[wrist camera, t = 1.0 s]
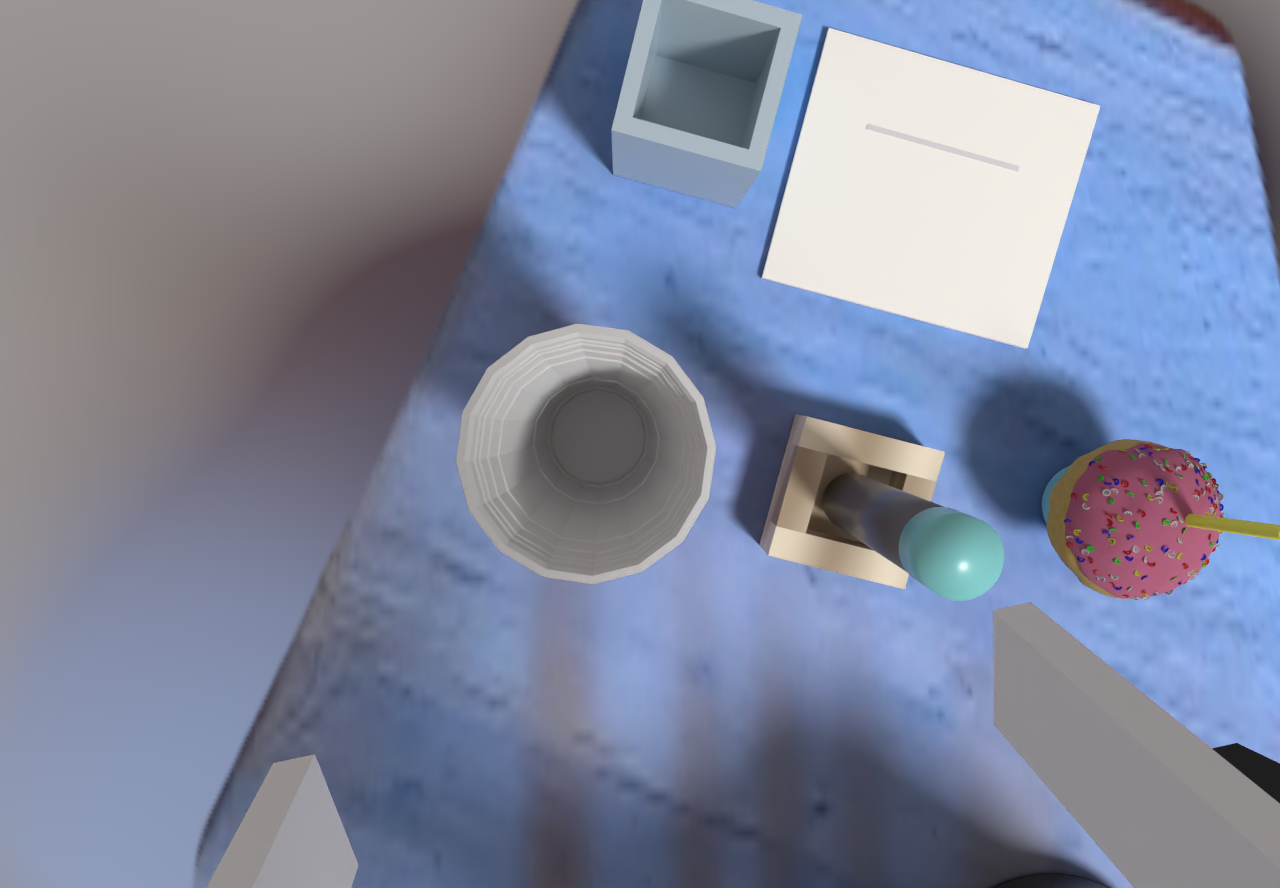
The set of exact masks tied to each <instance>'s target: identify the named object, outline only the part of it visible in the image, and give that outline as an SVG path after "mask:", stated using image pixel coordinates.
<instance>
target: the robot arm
mask: <svg viewBox="0 0 1280 888" xmlns="http://www.w3.org/2000/svg"><path fill="white" fill-rule="evenodd" d="M993 660H994V725H995V727H996V728H997V729H998V730H999V731H1000V732H1001V734H1002V735H1003V736H1004V737H1005V738H1006V739H1007V741H1008V742H1009V743H1010V744H1011V745H1012V746H1013V748H1014V749H1015V750H1016V751H1017V752H1018V753H1019V755H1020V756H1021V757H1022V758H1023V759H1024V760H1025V761H1026V763H1027V764H1028V765H1029V766H1030V767H1031V768H1032V770H1033V771H1034V772H1035V773H1036V774H1037V775H1038V777H1039V778H1040V779H1041V780H1042V781H1043V782H1044V784H1045V785H1046V786H1047V787H1048V788H1049V789H1050V791H1051V792H1052V793H1053V794H1054V795H1055V796H1056V798H1057V799H1058V800H1059V801H1060V802H1061V803H1062V804H1063V806H1064V807H1065V808H1066V809H1067V810H1068V811H1069V813H1070V814H1071V815H1072V816H1073V817H1074V818H1075V820H1076V821H1077V822H1078V823H1079V824H1080V825H1081V827H1082V828H1083V829H1084V830H1085V831H1086V832H1087V834H1088V835H1089V836H1090V837H1091V838H1092V839H1093V841H1094V842H1095V843H1096V844H1097V845H1098V846H1099V847H1100V849H1101V850H1102V851H1103V852H1104V853H1105V854H1106V856H1107V857H1108V858H1109V859H1110V860H1111V861H1112V863H1113V864H1114V865H1115V866H1116V867H1117V868H1118V870H1119V871H1120V872H1121V873H1122V874H1123V875H1124V877H1125V878H1126V879H1127V880H1128V881H1129V882H1130V883H1131V885H1132V886H1133V887H1134V888H1280V764H1279V763H1277V762H1275V761H1273V760H1271V759H1269V758H1267V757H1265V756H1263V755H1261V754H1259V753H1257V752H1254V751H1252V750H1250V749H1248V748H1246V747H1244V746H1242V745H1240V744H1238V743H1235V744H1230V745H1226V746H1222V747H1217V748H1213V749H1212V748H1210V747H1209V746H1208V745H1207V744H1205V743H1204V742H1203V741H1202V740H1200V739H1199V738H1198V737H1197V736H1195V735H1194V734H1193V733H1192V732H1191V731H1189V730H1188V729H1187V728H1186V727H1184V726H1183V725H1182V724H1181V723H1179V722H1178V721H1177V720H1176V719H1174V718H1173V717H1172V716H1171V715H1170V714H1168V713H1167V712H1166V711H1165V710H1163V709H1162V708H1161V707H1160V706H1158V705H1157V704H1156V703H1155V702H1153V701H1152V700H1151V699H1150V698H1148V697H1147V696H1146V695H1145V694H1144V693H1142V692H1141V691H1140V690H1139V689H1137V688H1136V687H1135V686H1134V685H1132V684H1131V683H1130V682H1129V681H1127V680H1126V679H1125V678H1124V677H1123V676H1121V675H1120V674H1119V673H1118V672H1116V671H1115V670H1114V669H1113V668H1111V667H1110V666H1109V665H1108V664H1106V663H1105V662H1104V661H1103V660H1101V659H1100V658H1099V657H1098V656H1097V655H1095V654H1094V653H1093V652H1092V651H1090V650H1089V649H1088V648H1087V647H1085V646H1084V645H1083V644H1082V643H1080V642H1079V641H1078V640H1077V639H1076V638H1074V637H1073V636H1072V635H1071V634H1069V633H1068V632H1067V631H1066V630H1064V629H1063V628H1062V627H1061V626H1059V625H1058V624H1057V623H1056V622H1054V621H1053V620H1052V619H1051V618H1050V617H1048V616H1047V615H1046V614H1045V613H1043V612H1042V611H1041V610H1040V609H1038V608H1037V607H1036V606H1035V605H1033V604H1032V603H1031V602H1029V603H1025V604H1020V605H1015V606H1010V607H1006V608H1001V609H996V610H993ZM358 866H359V865H358V862H357V860H356V857H355V855H354V852H353V850H352V847H351V845H350V842H349V840H348V837H347V834H346V832H345V829H344V827H343V824H342V822H341V819H340V817H339V814H338V812H337V809H336V807H335V804H334V801H333V799H332V796H331V794H330V791H329V789H328V786H327V784H326V781H325V779H324V776H323V774H322V771H321V769H320V766H319V763H318V761H317V758H316V756H315V754H313V755H309V756H304V757H299V758H294V759H290V760H285V761H280V762H276V763H273V764H272V766H271V768H270V770H269V772H268V774H267V776H266V777H265V779H264V781H263V783H262V785H261V787H260V789H259V790H258V792H257V794H256V796H255V798H254V800H253V802H252V803H251V805H250V807H249V809H248V811H247V813H246V815H245V816H244V818H243V820H242V822H241V824H240V826H239V828H238V829H237V831H236V833H235V835H234V837H233V839H232V841H231V842H230V844H229V846H228V848H227V850H226V852H225V853H224V855H223V857H222V859H221V861H220V863H219V865H218V866H217V868H216V870H215V872H214V874H213V876H212V878H211V879H210V881H209V883H208V885H207V887H206V888H352V884H353V881H354V878H355V875H356V872H357V869H358ZM995 888H1107V887H1105V886H1103V885H1101V884H1098V883H1096V882H1093V881H1091V880H1088V879H1084V878H1081V877H1076V876H1071V875H1062V874H1042V875H1034V876H1028V877H1023V878H1019V879H1016V880H1012V881H1009V882H1007V883H1004V884H1002V885H999V886H997V887H995Z"/></svg>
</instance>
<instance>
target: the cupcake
mask: <svg viewBox="0 0 1280 888" xmlns="http://www.w3.org/2000/svg"><path fill="white" fill-rule="evenodd" d="M1191 455H1192V453H1190V452H1187V451H1184V450H1182V449H1172V448H1168V447H1165V446H1162V445H1159V444H1156V443H1152V442H1146V441H1139V440H1129V439H1124V440H1117V441H1113V442H1110V443H1108V444H1106V445H1103V446H1101V447H1099V448H1097V449H1095V450H1093V451H1092V452H1090V453H1087V454H1085V455H1082V456H1080V457H1078V458H1077V459H1076V460H1075V461H1074V462H1073V463H1072V464H1071V465H1070V466H1067V467H1065V468H1063V469H1062V470H1060V471H1059V472H1057V473H1056V474H1055V475H1054V476H1053V477H1052V478H1051V480H1050V481H1049V482H1048V484H1047V486H1046V488H1045V490H1044V493H1043V497H1042V513H1043V517H1044V520H1045V522H1046V524H1047V533H1048V536H1049V539H1050V542H1051V544H1052V546H1053V548H1054V549H1055V551H1056V552H1057V554H1058V555H1059V557H1060V559H1061V560H1062V561H1063V562H1064V564H1065V565H1066V566H1067V567H1068V568H1069V569H1070V570H1071V571H1072V572H1073V573H1074V574H1075V575H1076V576H1077V577H1078V579H1079V581H1080V582H1081V583H1082V584H1084V585H1085V586H1087V587H1089V588H1091V589H1093V590H1095V591H1097V592H1099V593H1101V594H1104V595H1106V596H1110V597H1113V598H1121V599H1125V598H1132V599H1134V600H1138V599H1139V598H1142V599H1143V600H1146V599H1148V598H1149V597H1150V596H1155V595H1159V594H1163V593H1165V592H1166V594H1168V595H1170V594H1172V593H1173V589H1175V588H1177V587H1178V586H1180V585H1182V584H1184V583H1187V582H1186V581H1188V580H1193V579H1195V577H1196V576H1195V575H1197V574H1199V571H1200V570H1201V568H1202V567H1206V565H1207V564H1208V563H1209V560H1210V559H1208V557H1209V556H1210V554H1211V552H1214V551H1215V549H1216V547H1217V546H1219V543H1218V539H1219V538H1218V537H1219V534H1221V533H1222V532H1229V533H1235V534H1242V535H1249V536H1256V537H1262V538H1269V539H1276V540H1280V525H1275V524H1267V523H1259V522H1251V521H1243V520H1236V519H1228V518H1224V517H1223V516H1222V515H1223V514H1224V511H1223V505H1222V504H1221V503H1220V500H1223V499H1224V495H1223V494H1221V493H1219V491H1218V489H1219V485H1218V484H1216V479H1214V478H1213V479H1211V478H1212V477H1213V476H1212V474H1211V473H1209V472H1206V470H1205V468H1208V465H1207V464H1205V463H1199V461H1200V459H1198V458H1193V457H1192V456H1191ZM1197 460H1198V461H1197ZM1204 465H1206V466H1204ZM1209 474H1210V475H1211V476H1210V475H1209ZM1213 480H1214V481H1213ZM1215 485H1216V486H1217V487H1215ZM1216 488H1217V489H1216ZM1219 495H1221V496H1219ZM1220 497H1222V498H1220ZM1221 513H1222V514H1221ZM1219 531H1220V532H1219ZM1192 577H1193V578H1192ZM1170 590H1171V591H1170ZM1168 591H1169V592H1171V593H1169V592H1168ZM1144 597H1145V598H1144ZM1146 597H1147V598H1146Z"/></svg>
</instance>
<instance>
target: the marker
mask: <svg viewBox="0 0 1280 888" xmlns="http://www.w3.org/2000/svg"><path fill="white" fill-rule="evenodd" d="M823 509H824V512H825V514H826V516H827V517H828V518H829V520H830V521H831V522H833V523H834V524H835V525H837V526H838V527H840V528H841V529H843V530H844V531H846V532H847V533H849V534H850V535H852V536H853V537H855V538H856V539H858V540H859V541H861V542H862V543H864V544H865V545H867V546H868V547H870V548H871V549H873V550H874V551H876V552H877V553H879V554H880V555H882V556H883V557H885V558H886V559H888V560H889V561H891V562H892V563H894V564H895V565H897V566H898V567H900V568H901V569H903V570H904V571H906V572H907V573H908V574H909V575H910V576H912V577H913V578H914V579H916V580H917V581H919V582H920V583H922V584H923V585H924V586H926V587H927V588H929V589H930V590H932V591H933V592H935V593H936V594H938V595H939V596H942V597H944V598H946V599H950V600H955V601H964V600H970V599H973V598H976V597H978V596H980V595H982V594H984V593H985V592H987V591H988V590H989V589H990V588H991V587H992V586H993V585H994V584H995V582H996V581H997V580H998V578H999V576H1000V574H1001V571H1002V569H1003V565H1004V549H1003V545H1002V542H1001V539H1000V537H999V536H998V534H997V532H996V531H995V530H994V529H993V528H992V527H991V526H990V525H989V524H987V523H986V522H984V521H982V520H980V519H977V518H975V517H972V516H970V515H967V514H964V513H962V512H959V511H957V510H954V509H951V508H946V507H943V506H940V505H938V504H935V503H933V502H930V501H927V500H925V499H922V498H920V497H917V496H915V495H912V494H909V493H907V492H904V491H902V490H899V489H897V488H894V487H891V486H889V485H886V484H884V483H881V482H879V481H876V480H873V479H871V478H868V477H866V476H863V475H860V474H857V473H846V474H842V475H840V476H838V477H836V478H835V479H833V480H832V481H831V482H830V483H829V484H828V486H827V487H826V489H825V492H824V495H823Z"/></svg>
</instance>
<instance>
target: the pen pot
mask: <svg viewBox="0 0 1280 888" xmlns="http://www.w3.org/2000/svg"><path fill="white" fill-rule="evenodd" d="M801 18H802V15H801V14H798V13H794V12H791V11H788V10H784V9H781V8H777V7H774V6H770V5H767V4H763V3H760V2H756V1H753V0H643V3H642V7H641V11H640V15H639V20H638V24H637V28H636V32H635V36H634V40H633V44H632V48H631V52H630V56H629V60H628V64H627V68H626V72H625V77H624V81H623V85H622V89H621V93H620V97H619V101H618V105H617V109H616V113H615V117H614V121H613V125H612V129H611V133H612V159H613V175H616V176H620V177H623V178H627V179H631V180H634V181H638V182H642V183H645V184H649V185H653V186H656V187H660V188H664V189H667V190H671V191H675V192H678V193H682V194H686V195H689V196H693V197H697V198H700V199H704V200H708V201H711V202H715V203H719V204H722V205H726V206H730V207H733V208H737V207H738V205H739V204H740V202H741V201H742V199H743V198H744V196H745V195H746V193H747V192H748V190H749V189H750V187H751V186H752V184H753V183H754V181H755V180H756V178H757V177H758V175H759V174H760V172H761V169H762V166H763V162H764V158H765V154H766V151H767V147H768V143H769V139H770V135H771V132H772V128H773V124H774V120H775V116H776V113H777V109H778V105H779V101H780V98H781V94H782V90H783V86H784V82H785V79H786V75H787V71H788V67H789V63H790V60H791V56H792V52H793V48H794V45H795V41H796V37H797V33H798V29H799V26H800V22H801Z"/></svg>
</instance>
